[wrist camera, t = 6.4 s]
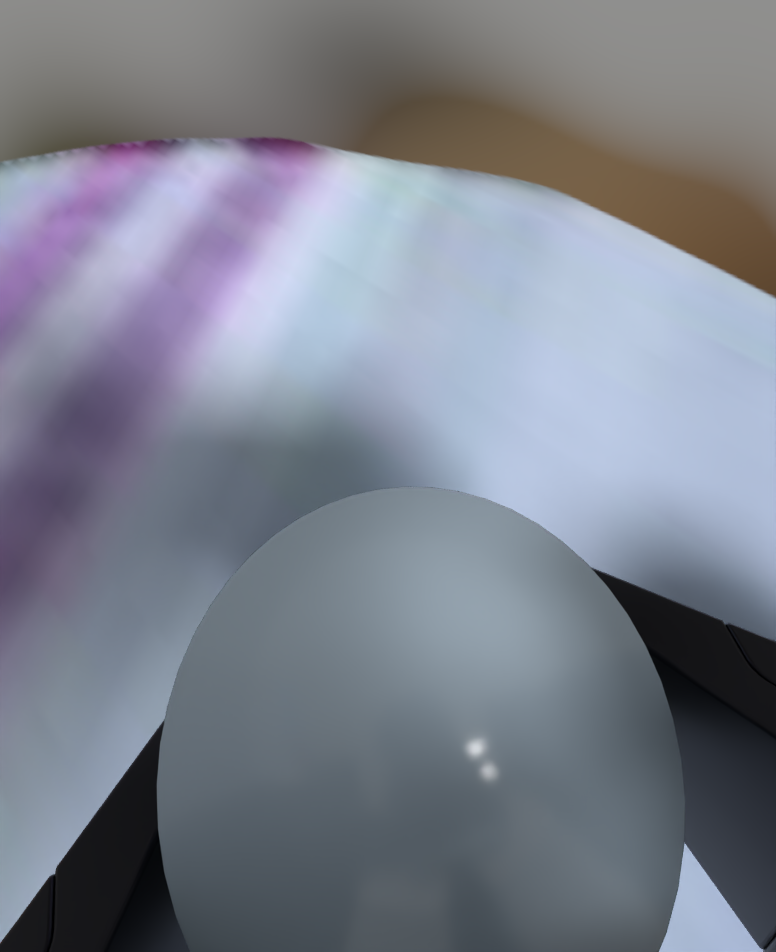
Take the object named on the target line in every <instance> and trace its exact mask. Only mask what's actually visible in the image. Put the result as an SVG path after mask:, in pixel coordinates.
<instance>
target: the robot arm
mask: <svg viewBox="0 0 776 952" xmlns="http://www.w3.org/2000/svg"><path fill="white" fill-rule="evenodd" d="M590 568H591V567H590ZM591 569H592V570H593V571H594V572H595V573H596V574H597V575H598V576H599V578H600V579H601V580H602V581H603V582H604V583H605V584H606V585H607V587H608V588H609V589H610V591H611V592H612V593H613V595H614V596H615V598H616V599H617V600H618V602H619V603H620V605H621V606H622V607H623V609H624V610H625V611H626V613H627V614H628V616H629V617H630V619H631V621H632V623H633V625H634V626H635V628H636V630H637V632H638V633H639V635H640V637H641V639H642V640H643V642H644V644H645V646H646V648H647V650H648V652H649V655H650V657H651V659H652V661H653V664H654V666H655V668H656V671H657V673H658V675H659V677H660V680H661V682H662V686H663V689H664V692H665V695H666V698H667V701H668V705H669V708H670V711H671V714H672V717H673V721H674V726H675V731H676V736H677V741H678V746H679V751H680V756H681V763H682V774H683V785H684V795H685V827H684V842H685V844H686V845H687V847H688V848H689V849H690V851H691V852H692V854H693V855H694V856H695V858H696V859H697V861H698V862H699V863H700V865H701V866H702V868H703V869H704V870H705V872H706V873H707V875H708V876H709V877H710V879H711V880H712V882H713V883H714V884H715V886H716V887H717V889H718V890H719V891H720V893H721V894H722V896H723V897H724V898H725V900H726V901H727V903H728V904H729V905H730V907H731V908H732V910H733V911H734V912H735V914H736V915H737V917H738V918H739V919H740V921H741V922H742V924H743V925H744V926H745V928H746V929H747V931H748V932H749V933H750V935H751V936H752V938H753V939H754V940H755V942H756V943H757V945H758V946H759V947H760V948H761V949H763V952H776V641H773V640H771V639H768V638H766V637H763V636H760V635H758V634H755V633H753V632H750V631H748V630H745V629H743V628H741V627H738V626H736V625H733V624H731V623H726V624H725V623H724V622H723V621H722V620H720V619H718V618H715V617H713V616H710V615H708V614H705V613H703V612H700V611H698V610H695V609H693V608H691V607H688V606H686V605H683V604H681V603H678V602H676V601H673V600H671V599H668V598H666V597H663V596H661V595H658V594H656V593H653V592H651V591H648V590H646V589H643V588H641V587H638V586H636V585H634V584H631V583H629V582H626V581H624V580H621V579H619V578H616V577H614V576H611V575H609V574H606V573H604V572H601V571H599V570H596V569H594V568H591ZM164 722H165V719H164V721H163V722H162V724H161V725H160V726H159V728H158V729H157V730H156V732H155V733H154V735H153V736H152V737H151V739H150V740H149V741H148V743H147V744H146V745H145V747H144V748H143V750H142V751H141V752H140V754H139V755H138V756H137V758H136V759H135V761H134V762H133V763H132V765H131V766H130V767H129V769H128V770H127V771H126V773H125V774H124V776H123V777H122V778H121V780H120V781H119V782H118V784H117V785H116V787H115V788H114V789H113V791H112V792H111V793H110V795H109V796H108V798H107V799H106V800H105V802H104V803H103V804H102V806H101V807H100V808H99V810H98V811H97V813H96V814H95V815H94V817H93V818H92V819H91V821H90V822H89V824H88V825H87V826H86V828H85V829H84V830H83V832H82V833H81V834H80V836H79V837H78V839H77V840H76V841H75V843H74V844H73V845H72V847H71V848H70V850H69V851H68V852H67V854H66V855H65V856H64V858H63V859H62V860H61V862H60V863H59V865H58V866H57V868H56V871H55V874H53V875H51V876H50V877H49V878H48V879H47V881H46V882H45V883H44V885H43V886H42V888H41V889H40V890H39V892H38V893H37V894H36V896H35V897H34V898H33V900H32V901H31V903H30V904H29V905H28V907H27V908H26V909H25V911H24V912H23V914H22V915H21V916H20V918H19V919H18V920H17V922H16V923H15V924H14V926H13V927H12V928H11V930H10V931H9V932H8V934H7V935H6V936H5V938H4V939H3V940H2V942H1V943H0V952H190V950H189V948H188V945H187V943H186V940H185V938H184V935H183V933H182V930H181V928H180V925H179V923H178V920H177V918H176V915H175V911H174V907H173V904H172V900H171V896H170V892H169V888H168V885H167V881H166V877H165V873H164V867H163V860H162V853H161V846H160V839H159V832H158V812H157V776H158V764H159V752H160V742H161V737H162V732H163V727H164Z"/></svg>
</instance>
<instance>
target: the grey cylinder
mask: <svg viewBox="0 0 776 952" xmlns="http://www.w3.org/2000/svg"><path fill="white" fill-rule="evenodd" d="M157 812H158V832H159V839H160V846H161V853H162V860H163V867H164V873H165V877H166V881H167V885H168V888H169V892H170V896H171V900H172V904H173V907H174V911H175V915H176V918H177V920H178V923H179V925H180V928H181V930H182V933H183V935H184V938H185V940H186V943H187V945H188V948H189V950H190V952H659V950H660V947H661V945H662V942H663V940H664V937H665V935H666V933H667V929H668V925H669V921H670V918H671V914H672V910H673V906H674V902H675V899H676V895H677V891H678V886H679V879H680V871H681V864H682V857H683V849H684V827H685V795H684V785H683V774H682V763H681V756H680V751H679V746H678V741H677V736H676V731H675V726H674V721H673V717H672V714H671V711H670V708H669V705H668V701H667V698H666V695H665V692H664V689H663V686H662V682H661V680H660V677H659V675H658V673H657V671H656V668H655V666H654V664H653V661H652V659H651V657H650V655H649V652H648V650H647V648H646V646H645V644H644V642H643V640H642V639H641V637H640V635H639V633H638V632H637V630H636V628H635V626H634V625H633V623H632V621H631V619H630V617H629V616H628V614H627V613H626V611H625V610H624V609H623V607H622V606H621V605H620V603H619V602H618V600H617V599H616V598H615V596H614V595H613V593H612V592H611V591H610V589H609V588H608V587H607V585H606V584H605V583H604V582H603V581H602V580H601V579H600V578H599V576H598V575H597V574H596V573H595V572H594V571H593V570H592V569H591V568H590V566H589V565H588V564H587V563H586V562H585V561H584V560H583V559H581V558H580V557H579V556H578V555H577V554H576V553H575V552H574V551H573V550H571V549H570V548H569V547H568V546H567V545H566V544H565V543H564V542H563V541H561V540H560V539H558V538H557V537H556V536H554V535H553V534H551V533H550V532H549V531H547V530H546V529H544V528H543V527H542V526H540V525H539V524H537V523H535V522H534V521H532V520H530V519H528V518H526V517H525V516H523V515H521V514H519V513H517V512H516V511H514V510H512V509H510V508H507V507H505V506H502V505H500V504H497V503H495V502H492V501H490V500H487V499H485V498H481V497H477V496H474V495H470V494H467V493H463V492H459V491H453V490H446V489H439V488H432V487H396V488H387V489H378V490H373V491H368V492H364V493H360V494H356V495H351V496H348V497H345V498H343V499H340V500H337V501H335V502H332V503H329V504H326V505H324V506H322V507H320V508H318V509H316V510H314V511H312V512H310V513H308V514H306V515H304V516H302V517H300V518H299V519H297V520H296V521H294V522H293V523H291V524H290V525H288V526H287V527H285V528H284V529H282V530H281V531H279V532H278V533H276V534H275V535H274V536H272V537H271V538H270V539H269V540H268V541H267V542H266V543H264V544H263V545H262V546H261V547H260V548H259V549H257V550H256V551H255V552H254V553H253V554H252V555H251V556H250V557H249V558H248V559H247V560H246V561H245V562H244V563H243V564H242V566H241V567H240V568H239V569H238V570H237V571H236V572H235V573H234V574H233V575H232V577H231V578H230V579H229V580H228V581H227V583H226V584H225V586H224V587H223V588H222V590H221V591H220V593H219V594H218V595H217V597H216V598H215V599H214V601H213V602H212V604H211V605H210V607H209V608H208V610H207V612H206V614H205V615H204V617H203V619H202V621H201V623H200V624H199V626H198V628H197V630H196V631H195V633H194V635H193V637H192V639H191V642H190V644H189V646H188V649H187V651H186V653H185V656H184V658H183V660H182V663H181V665H180V667H179V670H178V673H177V676H176V680H175V683H174V686H173V689H172V693H171V696H170V699H169V702H168V706H167V711H166V716H165V722H164V727H163V732H162V737H161V742H160V752H159V764H158V776H157Z"/></svg>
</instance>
